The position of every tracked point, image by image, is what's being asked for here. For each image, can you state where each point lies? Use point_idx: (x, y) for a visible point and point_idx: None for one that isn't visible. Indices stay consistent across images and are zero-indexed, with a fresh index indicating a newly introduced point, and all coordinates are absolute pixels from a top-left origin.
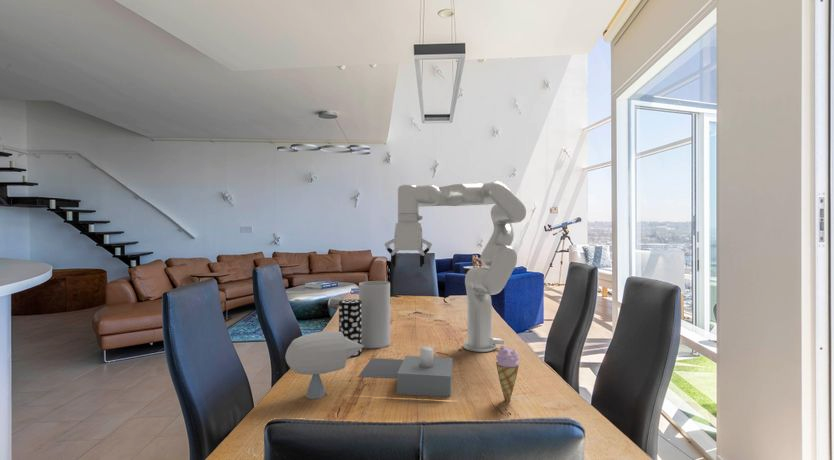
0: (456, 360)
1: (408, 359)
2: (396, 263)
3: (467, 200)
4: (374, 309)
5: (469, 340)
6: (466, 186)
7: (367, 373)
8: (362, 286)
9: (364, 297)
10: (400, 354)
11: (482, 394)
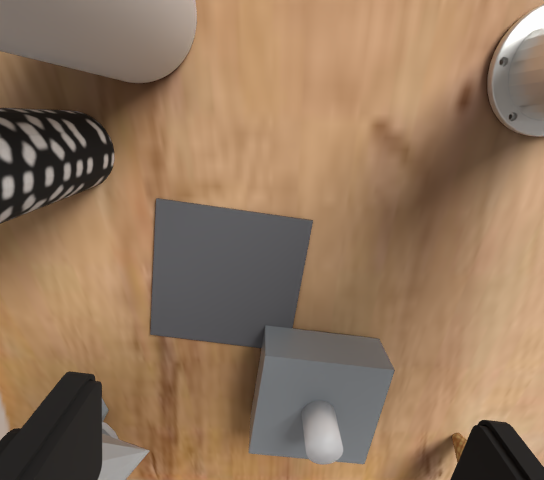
0: (421, 213)
1: (273, 380)
2: (84, 436)
3: None
4: (63, 61)
5: (524, 91)
6: None
7: (169, 316)
8: None
9: None
10: (246, 148)
11: (419, 413)
